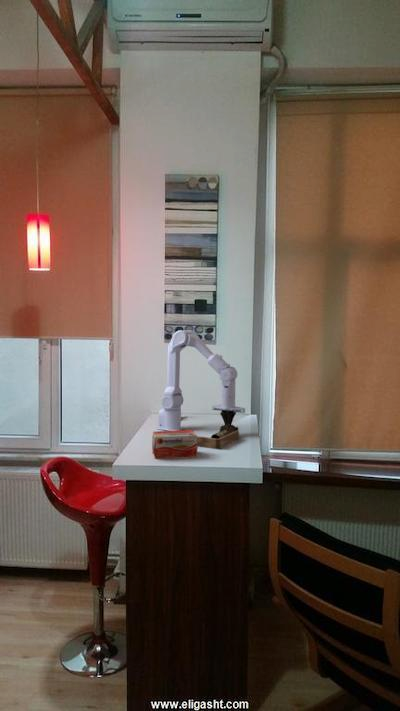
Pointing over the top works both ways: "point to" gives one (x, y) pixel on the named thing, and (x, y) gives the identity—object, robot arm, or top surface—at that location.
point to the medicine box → (174, 444)
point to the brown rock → (225, 431)
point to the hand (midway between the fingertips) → (228, 428)
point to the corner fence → (218, 440)
